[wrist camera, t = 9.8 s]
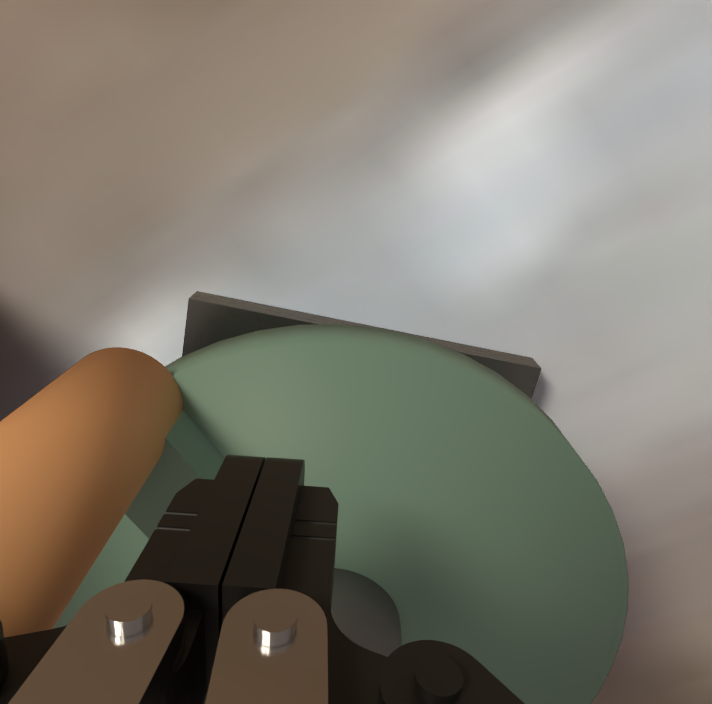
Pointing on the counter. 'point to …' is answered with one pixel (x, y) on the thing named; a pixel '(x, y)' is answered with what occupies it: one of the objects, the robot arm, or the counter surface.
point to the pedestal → (237, 317)
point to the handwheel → (347, 483)
